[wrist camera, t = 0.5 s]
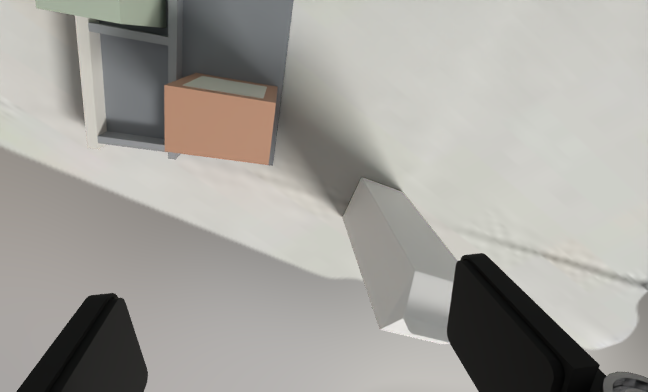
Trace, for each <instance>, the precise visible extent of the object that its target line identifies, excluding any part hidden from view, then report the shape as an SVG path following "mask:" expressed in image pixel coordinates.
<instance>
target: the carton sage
mask: <svg viewBox="0 0 648 392" xmlns="http://www.w3.org/2000/svg"><path fill="white" fill-rule="evenodd" d="M35 1H36V8H38V9H43V10H49V11H54V12H59V13H65V14H70V15H76V16H81V17H86V18H92V19H97V20H102V21H108V22H113V23H119V24H127V25H138V26H149V27H159V28H166V0H35Z"/></svg>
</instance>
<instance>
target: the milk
mask: <svg viewBox="0 0 648 392" xmlns="http://www.w3.org/2000/svg"><path fill="white" fill-rule="evenodd" d="M343 221H344V224H345V227H346V230H347V233H348V236H349V239H350V242H351V245H352V248H353V251H354V254H355V257H356V260H357V263H358V266H359V269H360V272H361V275H362V278H363V281H364V284H365V287H366V289H367V293H368V296H369V299H370V302H371V305H372V308H373V311H374V314H375V317H376V320H377V323H378V326H379V329H380V330H384V331H388V332H392V333H397V334H401V335H405V336H409V337H413V338H417V339H421V340H425V341H430V342H434V343H438V344H446V343H448V344H450V342H449V340H448V337H447V324H448V317H449V310H450V303H451V296H452V288H453V281H454V274H455V267H456V263H457V259H456V258H455V257H454V256H453V254H452V253H451V252H450V251H449V249H448V248H447V247H446V245H445V244H444V243H443V242H442V240H441V239H440V238H439V237H438V235H437V234H436V233H435V231H434V230H433V229H432V228H431V226H430V225H429V224H428V223H427V221H426V220H425V219H424V218H423V216H422V215H421V214H420V212H419V211H418V210H417V209H416V207H415V206H414V205H413V204H412V202H411V201H410V200H409V199H408V197H407V196H406V195H405V193H404V192H402V191H399V190H396V189H393V188H391V187H388V186H385V185H382V184H380V183H377V182H374V181H371V180H368V179H366V178H363V177H362V178H361V179H360V182H359V184H358V186H357V188H356V190H355V192H354V194H353V196H352V198H351V201H350V203H349V205H348V207H347V209H346V211H345V213H344V215H343Z"/></svg>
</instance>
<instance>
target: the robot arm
mask: <svg viewBox="0 0 648 392" xmlns="http://www.w3.org/2000/svg"><path fill="white" fill-rule="evenodd" d="M447 337H448V340H449V342H450V344H451V346H452V347H453V349H454V351H455V353H456V354H457V356H458V357H459V359H460V361H461V363H462V364H463V366H464V368H465V369H466V371H467V373H468V374H469V376H470V378H471V379H472V381H473V382H474V384H475V386H476V388H477V389H478V391H479V392H648V378H646V377H644V376H641V375H637V374H633V373H629V372H615V373H611V374H609V375H608V376H606V375H605V374H604V373H602V372H601V371H600V369H599V364H598V363H597V362H596V361H595V360H594V359H593V358H592V357H591V356H590V355H589V354H588V353H587V352H586V351H584V349H582V348H581V347H580V346H579V345H578V344H577V343H576V342H575V341H574V340H573V339H572V338H571V337H570V336H569V335H568V334H567V333H566V332H565V331H564V330H563V329H562V328H561V327H560V326H559V325H558V324H557V323H556V322H555V321H554V320H553V319H552V318H550V317H549V316H548V315H547V314H546V313H545V312H544V311H543V310H542V309H541V308H540V307H539V306H538V305H537V304H536V303H535V302H534V301H533V300H532V299H531V298H530V297H529V296H528V295H527V294H526V293H525V292H524V291H523V290H522V289H521V288H520V287H518V286H517V285H516V284H515V283H514V282H513V281H512V280H511V279H510V278H509V277H508V276H507V275H506V274H505V273H504V272H503V271H502V270H501V269H500V268H499V267H498V266H497V265H496V264H495V263H494V262H493V261H492V260H491V259H490V258H489V257H488V256H486V255H485V254H482V253H480V254H471V255H464V256H462V258H461V261H457V263H456V267H455V274H454V281H453V288H452V296H451V303H450V310H449V317H448V324H447ZM147 377H148V372H147V367H146V364H145V361H144V358H143V355H142V352H141V350H140V346H139V343H138V340H137V337H136V334H135V331H134V328H133V325H132V322H131V318H130V315H129V312H128V309H127V306H126V303H125V301H124V299H122V298H118V297H117V295H116V294H114V293H110V294H100V295H91V296H88V298H86V299H85V301H84V302H83V303H82V305H81V306H80V307H79V309H78V310H77V312H76V313H75V314H74V316H73V317H72V318H71V319H70V321H69V323H67V325H66V326H65V327H64V329H63V330H62V331H61V333H60V334H59V336H58V337H57V338H56V340H55V341H54V342H53V344H52V345H51V346H50V347H49V349H48V350H47V351H46V353H45V354H44V356H43V357H42V358H41V360H40V361H39V363H38V364H37V365H36V366H35V368H34V369H33V370H32V372H31V373H30V374H29V376H28V377H27V378H26V380H25V381H24V382H23V384H22V385H21V386H20V388H19V389H18V390H17V392H144V389H145V386H146V383H147Z"/></svg>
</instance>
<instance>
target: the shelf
mask: <svg viewBox="0 0 648 392" xmlns="http://www.w3.org/2000/svg"><path fill="white" fill-rule="evenodd" d="M292 8H293V0H166V28H159V27H149V26H138V25H127V24H119V23H113V22H108V21H102V20H97V19H92V18H86V17H81V16H76V15H75V23H76V34H77V45H78V55H79V66H80V76H81V87H82V97H83V108H84V118H85V129H86V140H87V148H90V149H98V150H99V149H100V148H102V147H104V146H105V145H107V144H108V145H116V146H123V147H131V148H139V149H146V150H154V151H162V152H165V115H164V85H166V84H168V83H171V82H173V81H176V80H179V79H181V78H184V77H186V76H189V75H191V74H194V73H200V74H206V75H212V76H218V77H224V78H230V79H236V80H242V81H248V82H253V83H259V84H265V85H271V86H277V87H278V88H277V98H276V107H275V115H274V123H273V132H272V140H271V148H270V157H269V165H272V166H273V160H274V152H275V144H276V136H277V128H278V120H279V112H280V104H281V96H282V88H283V80H284V72H285V64H286V56H287V48H288V40H289V32H290V24H291V16H292ZM180 154H181V153H173V152H168V159H176V158H177V157H178V156H179V155H180Z"/></svg>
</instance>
